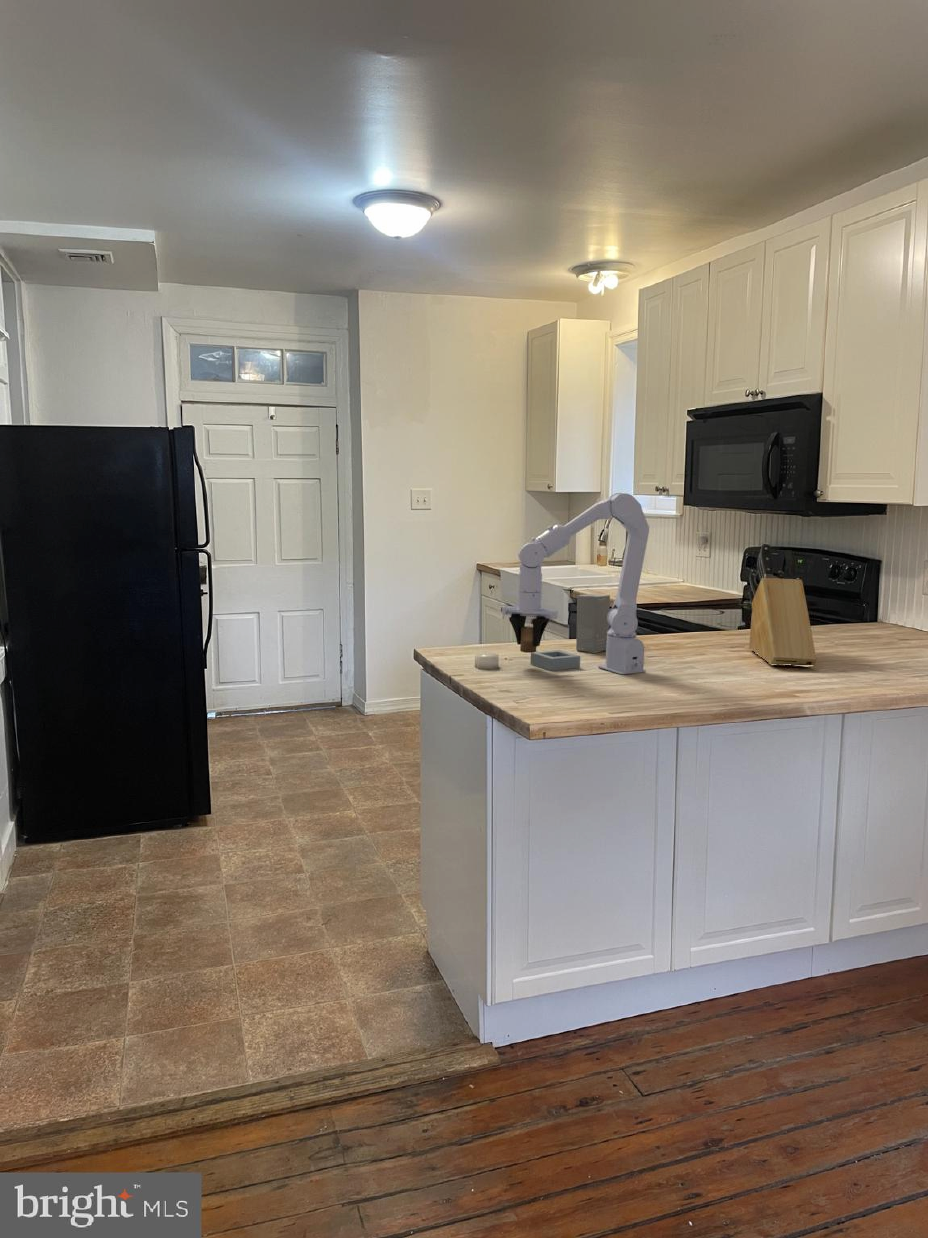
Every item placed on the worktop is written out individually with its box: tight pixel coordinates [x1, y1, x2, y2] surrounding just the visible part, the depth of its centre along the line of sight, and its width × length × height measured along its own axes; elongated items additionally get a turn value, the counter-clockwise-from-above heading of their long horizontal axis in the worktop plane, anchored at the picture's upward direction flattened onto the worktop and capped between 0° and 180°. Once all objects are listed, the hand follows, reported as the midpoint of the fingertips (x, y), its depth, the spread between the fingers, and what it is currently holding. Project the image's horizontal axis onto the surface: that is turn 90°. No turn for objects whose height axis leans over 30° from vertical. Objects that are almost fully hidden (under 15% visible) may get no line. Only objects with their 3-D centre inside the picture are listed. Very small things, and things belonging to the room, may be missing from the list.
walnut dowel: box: [519, 625, 537, 654], centre depth 225 cm, size 4×4×6 cm
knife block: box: [748, 542, 817, 666], centre depth 245 cm, size 11×35×31 cm, turn 175°
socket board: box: [529, 649, 581, 671], centre depth 228 cm, size 9×9×3 cm
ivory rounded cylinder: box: [474, 652, 500, 670], centre depth 226 cm, size 6×6×3 cm
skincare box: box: [575, 593, 611, 654], centre depth 250 cm, size 8×7×16 cm
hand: (528, 645), depth 225 cm, fingers closed on walnut dowel, 4 cm apart
